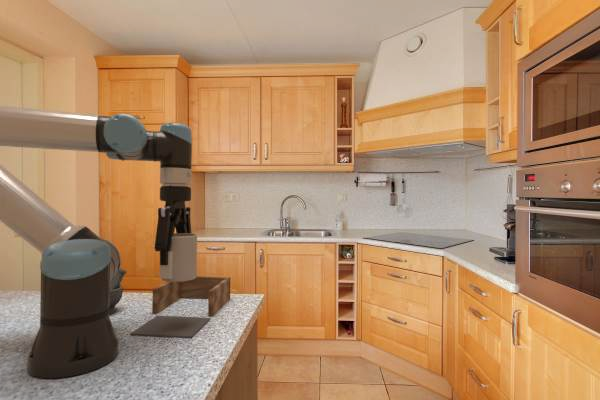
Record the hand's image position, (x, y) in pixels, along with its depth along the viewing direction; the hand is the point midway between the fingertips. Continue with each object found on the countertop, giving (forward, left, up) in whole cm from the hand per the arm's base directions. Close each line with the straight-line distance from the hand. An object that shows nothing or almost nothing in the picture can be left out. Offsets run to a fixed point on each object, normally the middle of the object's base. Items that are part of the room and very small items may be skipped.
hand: (174, 274), depth 89 cm
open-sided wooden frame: (+18, +2, -13) cm, 22 cm away
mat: (0, 0, -13) cm, 13 cm away
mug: (+1, 0, -1) cm, 1 cm away
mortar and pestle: (+9, +24, -14) cm, 29 cm away
